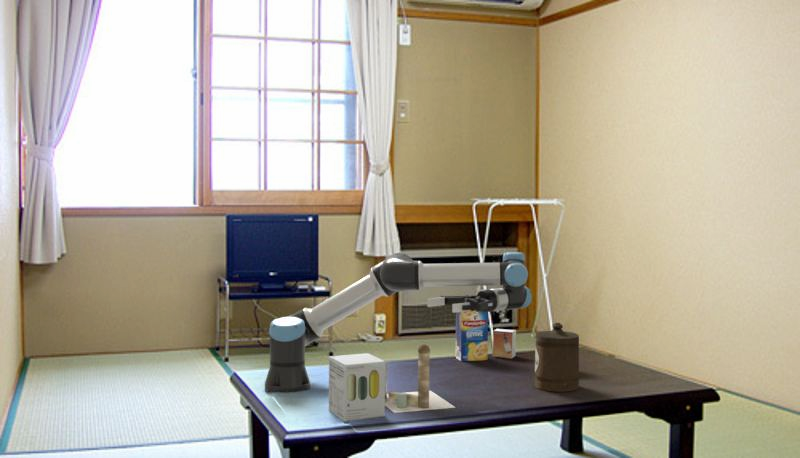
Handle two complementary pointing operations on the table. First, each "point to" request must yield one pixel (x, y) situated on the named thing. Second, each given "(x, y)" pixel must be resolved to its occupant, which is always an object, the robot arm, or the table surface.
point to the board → (434, 403)
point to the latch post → (401, 400)
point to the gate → (419, 381)
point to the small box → (504, 343)
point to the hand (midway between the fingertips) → (440, 305)
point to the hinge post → (386, 383)
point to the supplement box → (356, 386)
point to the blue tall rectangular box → (471, 336)
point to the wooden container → (557, 360)
